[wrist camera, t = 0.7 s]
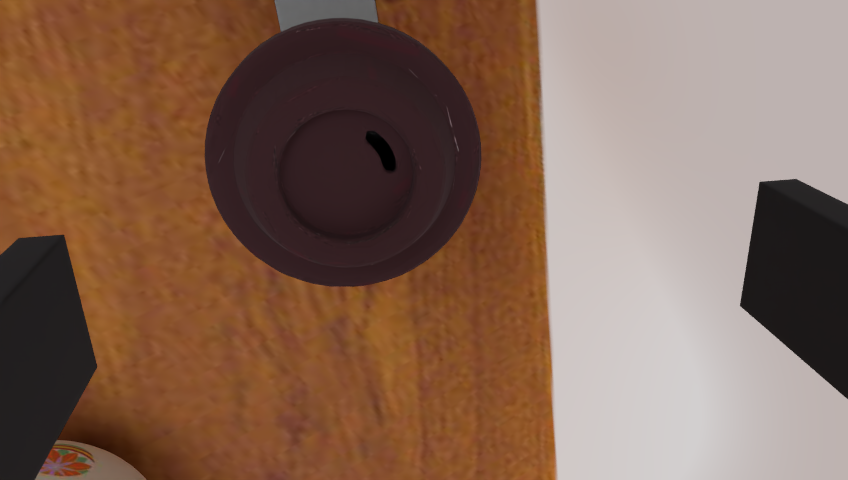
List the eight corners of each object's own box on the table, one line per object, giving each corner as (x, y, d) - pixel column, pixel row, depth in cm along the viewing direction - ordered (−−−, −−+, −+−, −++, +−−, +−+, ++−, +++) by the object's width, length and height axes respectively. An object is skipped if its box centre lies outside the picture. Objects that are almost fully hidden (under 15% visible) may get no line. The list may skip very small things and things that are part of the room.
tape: (266, -40, 35) (266, -40, 35) (366, -54, 35) (366, -54, 35) (319, 220, 40) (319, 221, 40) (405, 206, 41) (405, 207, 40)
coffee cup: (249, 179, 39) (203, 308, 25) (243, -11, 35) (186, 17, 21) (426, 184, 40) (476, 308, 26) (440, 1, 36) (506, 35, 23)
